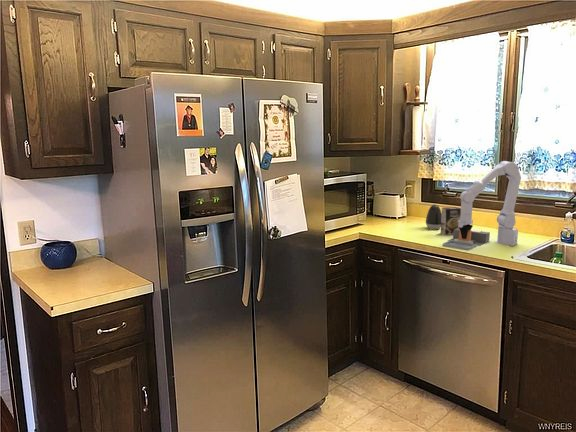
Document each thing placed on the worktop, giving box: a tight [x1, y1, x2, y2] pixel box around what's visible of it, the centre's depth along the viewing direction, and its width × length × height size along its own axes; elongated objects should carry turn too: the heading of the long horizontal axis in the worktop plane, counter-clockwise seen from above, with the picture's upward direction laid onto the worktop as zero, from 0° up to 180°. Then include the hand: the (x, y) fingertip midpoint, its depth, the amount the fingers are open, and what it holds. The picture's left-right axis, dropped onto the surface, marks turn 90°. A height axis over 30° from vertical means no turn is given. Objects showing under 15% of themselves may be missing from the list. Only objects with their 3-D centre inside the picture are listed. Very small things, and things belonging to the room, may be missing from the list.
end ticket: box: [459, 229, 471, 241], centre depth 250 cm, size 6×2×7 cm, turn 47°
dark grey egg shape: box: [425, 204, 442, 230], centre depth 287 cm, size 10×10×15 cm
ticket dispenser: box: [447, 228, 491, 247], centre depth 253 cm, size 18×13×6 cm
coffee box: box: [440, 206, 461, 236], centre depth 270 cm, size 9×6×16 cm
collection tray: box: [442, 239, 478, 251], centre depth 243 cm, size 14×10×2 cm
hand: (464, 238), depth 250 cm, fingers closed on end ticket, 2 cm apart
